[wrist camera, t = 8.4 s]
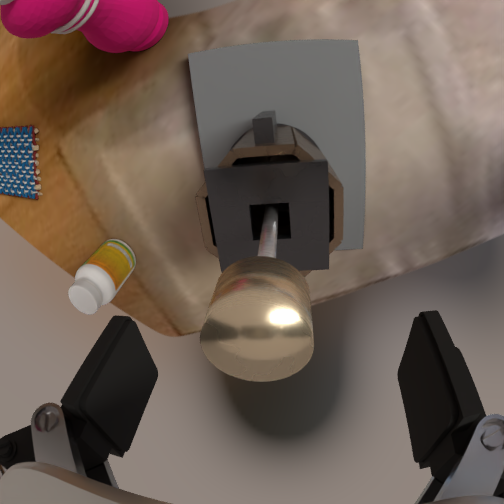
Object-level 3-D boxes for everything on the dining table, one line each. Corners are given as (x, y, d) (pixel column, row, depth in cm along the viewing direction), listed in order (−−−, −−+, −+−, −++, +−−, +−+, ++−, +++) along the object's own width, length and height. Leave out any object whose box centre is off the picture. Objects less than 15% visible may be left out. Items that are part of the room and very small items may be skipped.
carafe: (321, 107, 26) (348, 116, 15) (326, 215, 31) (346, 284, 20) (217, 115, 27) (175, 131, 16) (232, 221, 32) (207, 289, 22)
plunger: (311, 136, 25) (377, 246, 8) (315, 211, 29) (351, 400, 11) (231, 142, 26) (123, 259, 9) (241, 215, 30) (182, 400, 12)
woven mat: (3, 191, 35) (-6, 196, 33) (-2, 125, 30) (-12, 129, 28) (45, 198, 35) (37, 203, 33) (42, 123, 30) (32, 126, 28)
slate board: (354, 42, 23) (357, 40, 22) (360, 243, 33) (362, 248, 32) (191, 55, 25) (188, 53, 24) (221, 250, 36) (219, 255, 35)
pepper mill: (141, 68, 26) (-11, 70, 9) (101, 35, 24) (-46, 26, 7) (187, 17, 23) (65, -52, 6) (143, -14, 21) (14, -73, 4)
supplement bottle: (106, 230, 36) (65, 271, 27) (141, 250, 37) (106, 296, 28) (98, 261, 38) (61, 304, 30) (131, 279, 39) (99, 327, 31)
